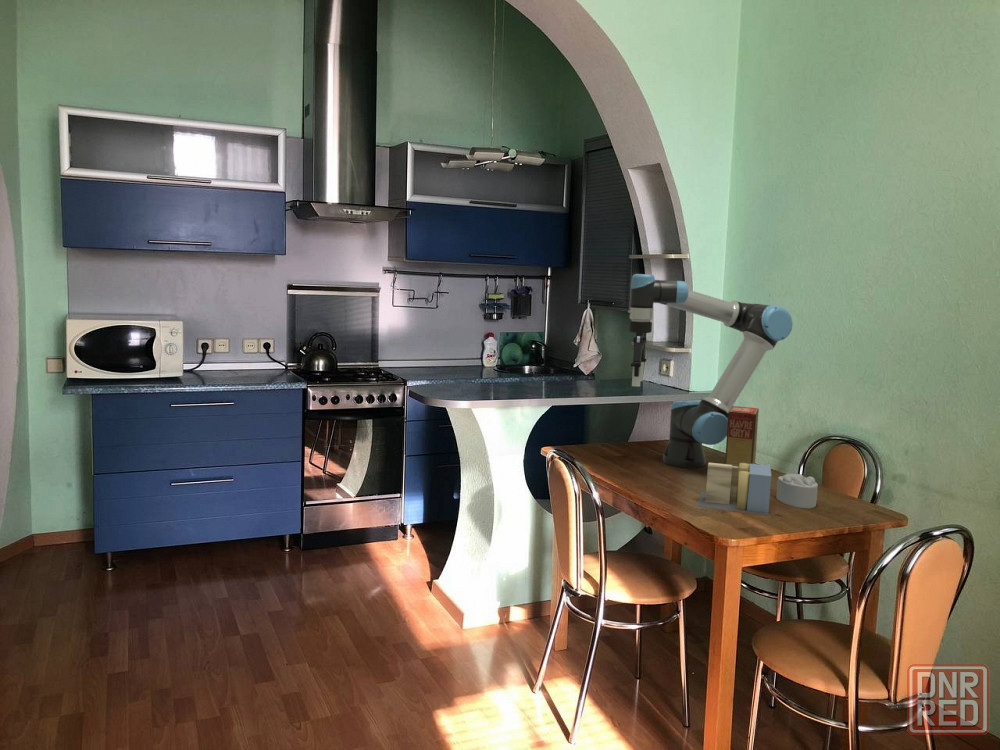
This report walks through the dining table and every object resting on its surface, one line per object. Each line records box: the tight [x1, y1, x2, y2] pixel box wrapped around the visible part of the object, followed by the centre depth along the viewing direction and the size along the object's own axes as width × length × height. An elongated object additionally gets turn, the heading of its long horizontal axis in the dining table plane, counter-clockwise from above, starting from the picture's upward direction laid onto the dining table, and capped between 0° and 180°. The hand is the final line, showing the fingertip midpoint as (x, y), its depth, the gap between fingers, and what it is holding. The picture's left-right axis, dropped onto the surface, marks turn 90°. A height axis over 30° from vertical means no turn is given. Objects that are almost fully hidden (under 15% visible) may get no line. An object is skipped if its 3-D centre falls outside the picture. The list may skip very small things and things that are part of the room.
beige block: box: [705, 462, 748, 504], centre depth 252 cm, size 5×12×11 cm, turn 74°
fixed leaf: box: [736, 463, 772, 514], centre depth 249 cm, size 14×9×11 cm, turn 164°
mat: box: [697, 491, 769, 516], centre depth 252 cm, size 18×20×1 cm
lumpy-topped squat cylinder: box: [775, 473, 819, 509], centre depth 255 cm, size 10×13×9 cm
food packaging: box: [724, 405, 759, 467], centre depth 276 cm, size 13×9×25 cm
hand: (637, 383), depth 281 cm, fingers open, 13 cm apart
